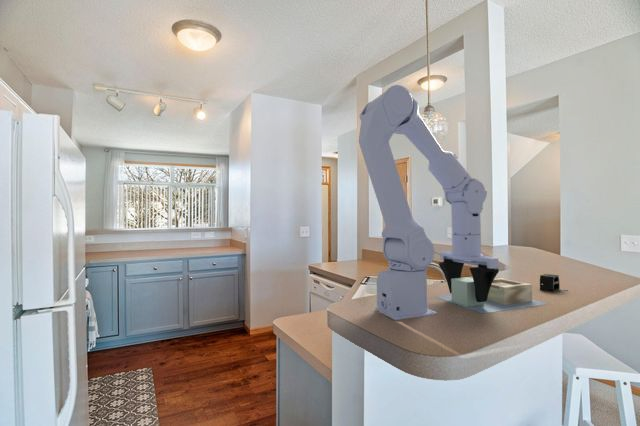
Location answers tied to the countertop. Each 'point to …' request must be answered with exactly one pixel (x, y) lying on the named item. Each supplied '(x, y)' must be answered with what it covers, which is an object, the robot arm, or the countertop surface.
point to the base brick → (509, 291)
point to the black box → (550, 282)
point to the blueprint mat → (494, 305)
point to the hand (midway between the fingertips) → (467, 297)
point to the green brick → (464, 291)
